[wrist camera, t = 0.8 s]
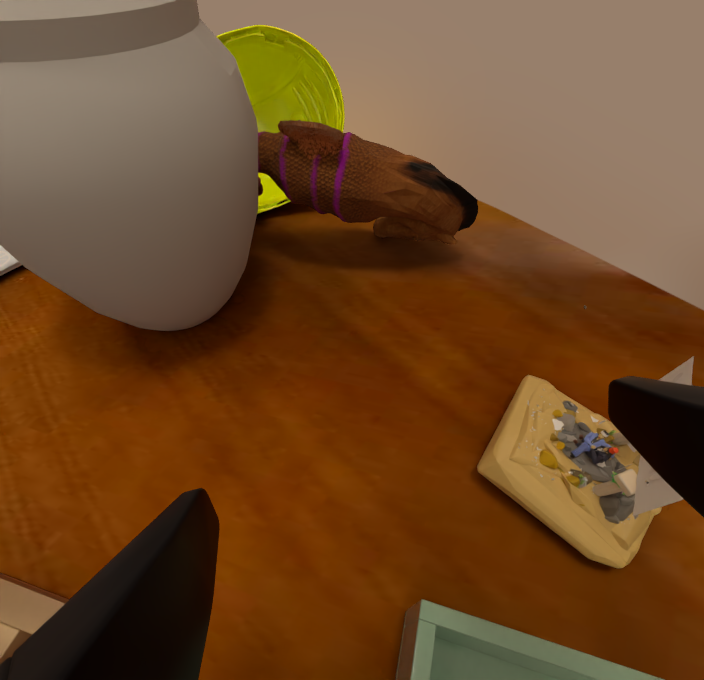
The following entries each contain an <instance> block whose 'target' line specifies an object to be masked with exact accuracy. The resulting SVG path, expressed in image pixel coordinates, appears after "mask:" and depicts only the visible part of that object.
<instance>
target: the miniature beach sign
mask: <svg viewBox="0 0 704 680" xmlns="http://www.w3.org/2000/svg"><path fill="white" fill-rule="evenodd" d="M584 309H586V306H584ZM693 360H694V356H693V357H692V358H690V359H689V360H688V361H686V362H685V363H683V364H682V365H680V366H679V367H677V368H676V369H674V370H673V371H671V372H670V373H668V374H667V375H665V376H664V377H662V378H661V379H660V381H667V382H673V383H680V384H686V385H692V369H693ZM477 469H478V472H479V473H480V474H481V475H483V476H484V477H485V478H486V479H488V480H489V481H490V482H491V483H493V484H494V485H495V486H496V487H498V488H499V489H500V490H502V491H503V492H504V493H505V494H507V495H508V496H509V497H510V498H512V499H513V500H514V501H515V502H517V503H518V504H519V505H521V506H522V507H523V508H524V509H526V510H527V511H528V512H529V513H531V514H532V515H533V516H535V517H536V518H537V519H538V520H540V521H541V522H542V523H543V524H545V525H546V526H547V527H548V528H550V529H551V530H552V531H554V532H555V533H556V534H557V535H559V536H560V537H561V538H562V539H564V540H565V541H566V542H568V543H569V544H570V545H571V546H573V547H574V548H575V549H576V550H578V551H579V552H580V553H581V554H583V555H584V556H585V557H587V558H588V559H590V560H593V561H596V562H599V563H602V564H605V565H608V566H611V567H614V568H623V567H625V566H626V565H627V564H629V563H630V562H631V560H632V559H633V558H634V556H635V555H636V553H637V552H638V550H639V547H640V544H641V541H642V539H643V537H644V535H645V533H646V531H647V529H648V527H649V525H650V523H651V521H652V519H653V517H654V515H657V514H659V513H660V511H661V509H662V506H665V505H668V504H671V503H674V502H677V501H680V500H683V498H682V497H681V496H680V495H679V494H678V493H677V492H676V491H675V490H674V489H673V488H672V487H671V486H669V485H668V484H667V483H666V482H665V481H664V480H663V479H662V477H661V476H660V475H659V474H658V473H657V472H656V471H655V470H654V469H653V468H652V467H651V466H650V465H649V463H648V462H647V461H646V460H645V459H644V458H643V457H642V456H641V455H640V454H639V452H638V451H637V450H636V449H635V448H634V447H633V446H632V445H631V444H630V443H629V441H628V440H627V439H626V438H625V437H624V436H623V435H622V434H621V433H620V431H619V430H618V429H617V428H616V427H615V426H614V425H613V423H612V422H610V421H608V420H607V419H605V418H604V417H602V416H601V415H599V414H595V413H593V412H592V411H590V410H588V409H587V408H585V407H584V406H582V405H580V404H579V403H577V402H576V401H574V400H572V399H571V398H569V397H567V396H566V395H564V394H563V393H561V392H559V391H558V390H556V389H555V387H554V386H553V385H551V384H550V383H549V382H548V381H546V380H543V379H540V378H537V377H534V376H531V375H527V376H526V377H525V378H524V379H523V380H522V382H521V384H520V386H519V387H518V389H517V391H516V393H515V395H514V397H513V399H512V401H511V403H510V405H509V406H508V408H507V410H506V412H505V414H504V416H503V418H502V420H501V422H500V424H499V425H498V427H497V429H496V431H495V433H494V435H493V437H492V439H491V441H490V442H489V444H488V446H487V448H486V450H485V452H484V454H483V456H482V458H481V460H480V461H479V463H478V465H477Z"/></svg>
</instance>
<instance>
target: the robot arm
mask: <svg viewBox="0 0 704 680" xmlns="http://www.w3.org/2000/svg"><path fill="white" fill-rule="evenodd" d="M608 414H609V418H610V420H611V422H612V423H613V425H614V426H615V427H616V428H617V429H618V430H619V431H620V433H621V434H622V435H623V436H624V437H625V438H626V439H627V440H628V441H629V443H630V444H631V445H632V446H633V447H634V448H635V449H636V450H637V451H638V452H639V454H640V455H641V456H642V457H643V458H644V459H645V460H646V461H647V462H648V463H649V465H650V466H651V467H652V468H653V469H654V470H655V471H656V472H657V473H658V474H659V475H660V476H661V477H662V479H663V480H664V481H665V482H666V483H667V484H668V485H669V486H671V487H672V488H673V489H674V490H675V491H676V492H677V493H678V494H679V495H680V496H681V497H682V498H683V499H684V500H685V501H687V502H688V503H689V504H690V505H691V506H692V507H693V508H694V509H695V510H696V511H697V512H698V513H700V514H701V515H702V516H703V517H704V387H699V386H692V385H686V384H680V383H673V382H667V381H660V380H654V379H648V378H641V377H635V376H627V377H623V378H620V379H616V380H613V381H612V382H611V383H610V384H609V391H608ZM218 539H219V520H218V516H217V514H216V512H215V509H214V507H213V505H212V503H211V500H210V498H209V496H208V494H207V492H206V491H205V490H204V489H202V488H199V489H195V490H191V491H187V492H184V493H182V494H181V495H180V496H179V497H178V498H177V499H176V500H175V501H174V502H173V503H172V504H171V505H169V506H168V507H167V508H166V509H165V510H164V511H163V512H162V513H161V514H160V515H159V516H158V517H157V518H156V519H155V520H154V521H152V522H151V523H150V524H149V525H148V526H147V527H146V528H145V529H144V530H143V531H142V532H141V533H140V534H139V535H138V536H137V537H135V538H134V539H133V540H132V541H131V542H130V543H129V544H128V545H127V546H126V547H125V548H124V549H123V550H122V551H121V552H120V553H118V554H117V555H116V556H115V557H114V558H113V559H112V560H111V561H110V562H109V563H108V564H107V565H106V566H105V567H104V568H103V569H101V570H100V571H99V572H98V573H97V574H96V575H95V576H94V577H93V578H92V579H91V580H90V581H89V582H88V583H87V584H86V585H84V586H83V587H82V588H81V589H80V590H79V591H78V592H77V593H76V594H75V595H74V596H73V597H72V598H71V599H70V600H69V601H67V602H66V603H65V604H64V605H63V606H62V607H61V608H60V609H59V610H58V611H57V612H56V613H55V614H54V615H53V616H52V617H50V618H49V619H48V620H47V621H46V622H45V623H44V624H43V625H42V626H41V627H40V628H39V629H38V630H37V631H36V632H35V633H33V634H32V635H31V636H30V637H29V638H28V639H27V640H26V641H25V642H24V643H23V644H22V645H21V646H20V647H19V648H18V649H16V650H15V651H14V653H13V655H12V657H9V658H7V659H6V660H5V661H4V662H2V663H1V664H0V680H198V677H199V672H200V667H201V662H202V657H203V652H204V646H205V641H206V636H207V631H208V626H209V620H210V615H211V609H212V603H213V594H214V584H215V573H216V562H217V550H218Z"/></svg>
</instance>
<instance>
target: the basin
mask: <svg viewBox="0 0 704 680" xmlns="http://www.w3.org/2000/svg"><path fill="white" fill-rule="evenodd" d="M395 680H665V679H662V678H659V677H656V676H653V675H650V674H647V673H644V672H641V671H638V670H635V669H632V668H629V667H625V666H622V665H619V664H616V663H613V662H610V661H607V660H604V659H601V658H598V657H595V656H592V655H589V654H586V653H583V652H580V651H577V650H574V649H571V648H568V647H565V646H562V645H559V644H556V643H553V642H550V641H547V640H544V639H541V638H538V637H535V636H532V635H529V634H526V633H523V632H520V631H517V630H514V629H511V628H508V627H505V626H502V625H499V624H496V623H493V622H490V621H487V620H484V619H481V618H478V617H475V616H472V615H469V614H466V613H463V612H460V611H457V610H454V609H451V608H448V607H445V606H442V605H439V604H436V603H433V602H430V601H427V600H424V599H421V600H420V601H419V602H417V603H416V604H415V605H413V606H412V607H411V608H409V609H408V610H407V611H406V612H405V618H404V625H403V631H402V638H401V644H400V651H399V657H398V664H397V670H396V677H395Z"/></svg>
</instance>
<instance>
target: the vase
mask: <svg viewBox="0 0 704 680" xmlns="http://www.w3.org/2000/svg"><path fill="white" fill-rule="evenodd" d="M257 212H258V127H257V120H256V116H255V114H254V111H253V108H252V105H251V102H250V99H249V96H248V93H247V91H246V88H245V85H244V82H243V79H242V76H241V73H240V70H239V68H238V65H237V62H236V59H235V57H234V56H233V55H232V54H231V52H230V51H229V50H228V49H227V48H226V47H225V46H224V45H223V43H222V42H221V41H220V40H219V39H218V38H217V37H216V36H215V35H214V34H213V32H212V31H211V30H210V29H209V28H208V27H207V26H206V25H205V24H204V23H203V22H202V20H201V19H200V18H199V12H198V6H197V0H0V245H1V246H2V247H3V248H4V249H5V250H6V251H8V252H9V253H10V254H11V255H12V256H13V257H14V258H15V259H16V260H17V261H19V262H20V263H21V264H22V265H23V266H24V267H25V268H27V269H28V270H30V271H32V272H33V273H35V274H36V275H38V276H39V277H41V278H42V279H44V280H45V281H47V282H49V283H50V284H52V285H54V286H55V287H57V288H58V289H60V290H62V291H63V292H65V293H66V294H68V295H70V296H71V297H73V298H74V299H76V300H78V301H79V302H81V303H82V304H84V305H86V306H87V307H89V308H90V309H92V310H94V311H95V312H97V313H99V314H102V315H105V316H108V317H110V318H113V319H116V320H119V321H122V322H124V323H127V324H130V325H133V326H136V327H138V328H144V329H150V330H159V331H176V330H183V329H187V328H191V327H194V326H196V325H199V324H201V323H203V322H205V321H206V320H208V319H210V318H211V317H212V316H213V315H215V314H216V313H217V312H218V311H219V310H220V309H221V308H222V307H223V305H224V304H225V303H226V302H227V301H228V300H229V299H230V297H231V295H232V293H233V292H234V290H235V288H236V286H237V284H238V282H239V280H240V278H241V276H242V274H243V272H244V270H245V268H246V264H247V260H248V255H249V251H250V246H251V241H252V236H253V231H254V226H255V221H256V217H257Z"/></svg>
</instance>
